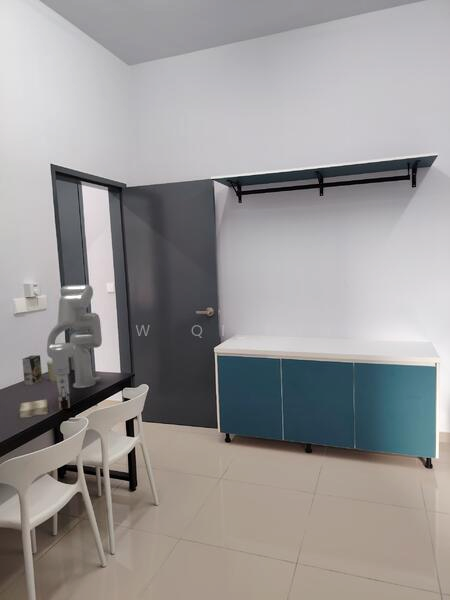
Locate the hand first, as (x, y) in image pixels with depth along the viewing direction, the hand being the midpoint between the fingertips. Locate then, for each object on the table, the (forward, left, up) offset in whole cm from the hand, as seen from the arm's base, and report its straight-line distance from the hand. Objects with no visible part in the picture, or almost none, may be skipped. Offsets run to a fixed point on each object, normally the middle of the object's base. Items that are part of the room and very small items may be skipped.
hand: (64, 405), depth 215 cm
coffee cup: (+3, -55, -1) cm, 55 cm away
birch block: (+14, 0, -1) cm, 14 cm away
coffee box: (+16, -55, -1) cm, 57 cm away
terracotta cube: (0, 0, -1) cm, 1 cm away
